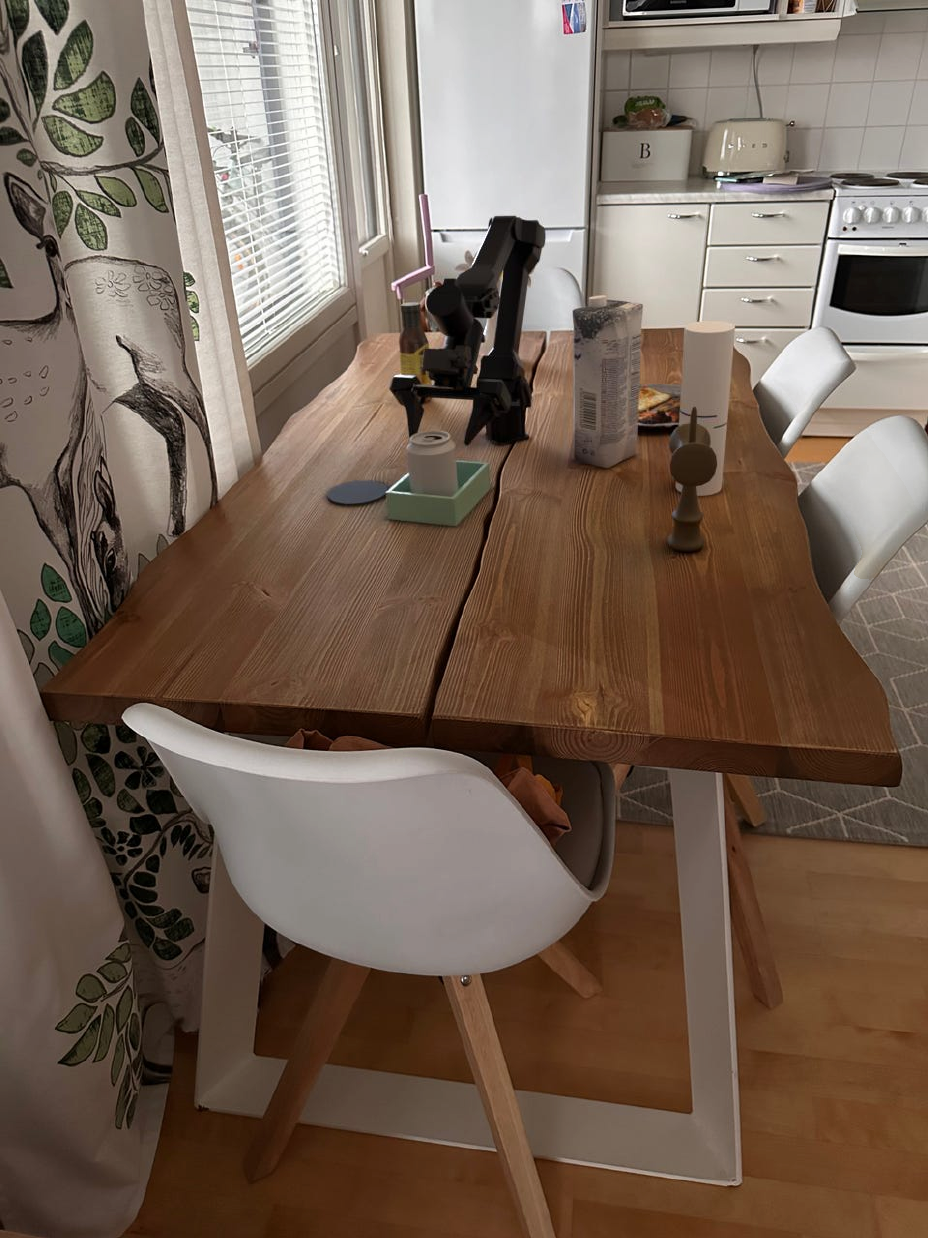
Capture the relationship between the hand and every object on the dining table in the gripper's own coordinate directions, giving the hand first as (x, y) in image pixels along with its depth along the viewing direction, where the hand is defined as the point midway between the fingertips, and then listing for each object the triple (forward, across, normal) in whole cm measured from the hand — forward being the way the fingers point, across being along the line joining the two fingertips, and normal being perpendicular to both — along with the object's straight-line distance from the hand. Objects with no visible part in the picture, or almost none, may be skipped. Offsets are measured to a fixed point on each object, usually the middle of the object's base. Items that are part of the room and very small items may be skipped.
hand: (438, 442), depth 144 cm
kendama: (+12, +40, +2) cm, 42 cm away
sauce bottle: (-29, -27, +42) cm, 58 cm away
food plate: (-28, +24, +42) cm, 56 cm away
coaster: (+7, -15, +7) cm, 18 cm away
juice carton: (-10, +20, +24) cm, 34 cm away
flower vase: (-53, -20, +66) cm, 87 cm away
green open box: (+8, 0, +7) cm, 10 cm away
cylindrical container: (-4, +38, +18) cm, 42 cm away
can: (+9, 0, +5) cm, 10 cm away
